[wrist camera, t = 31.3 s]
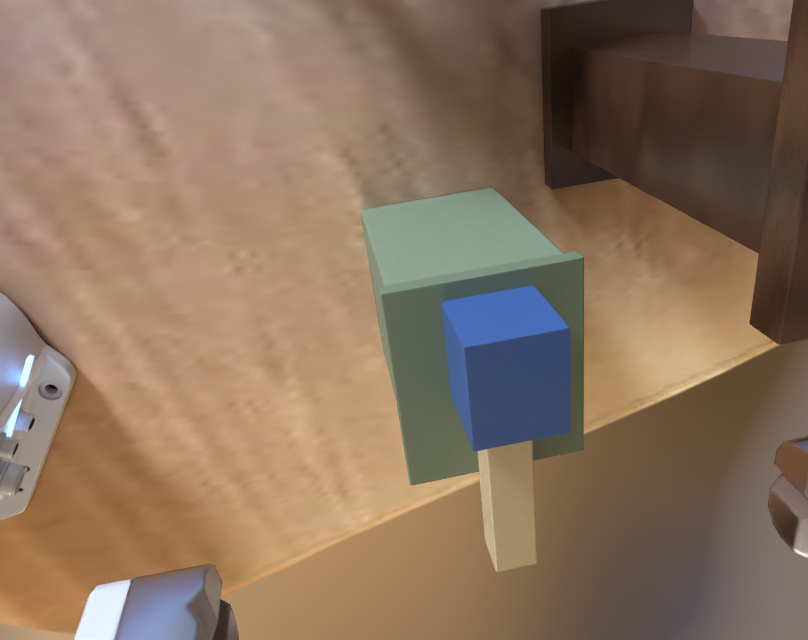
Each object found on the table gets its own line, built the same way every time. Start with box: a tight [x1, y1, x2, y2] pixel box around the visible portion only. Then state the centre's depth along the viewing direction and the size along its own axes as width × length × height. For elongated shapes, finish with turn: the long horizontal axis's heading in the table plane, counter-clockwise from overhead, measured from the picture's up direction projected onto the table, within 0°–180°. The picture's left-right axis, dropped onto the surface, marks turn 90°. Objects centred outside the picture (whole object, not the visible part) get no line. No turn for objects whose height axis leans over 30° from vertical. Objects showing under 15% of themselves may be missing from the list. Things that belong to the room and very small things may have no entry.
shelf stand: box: [541, 0, 808, 345], centre depth 35 cm, size 13×10×25 cm
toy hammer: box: [441, 285, 570, 572], centre depth 35 cm, size 18×5×5 cm, turn 7°
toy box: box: [361, 188, 584, 485], centre depth 43 cm, size 13×11×16 cm
